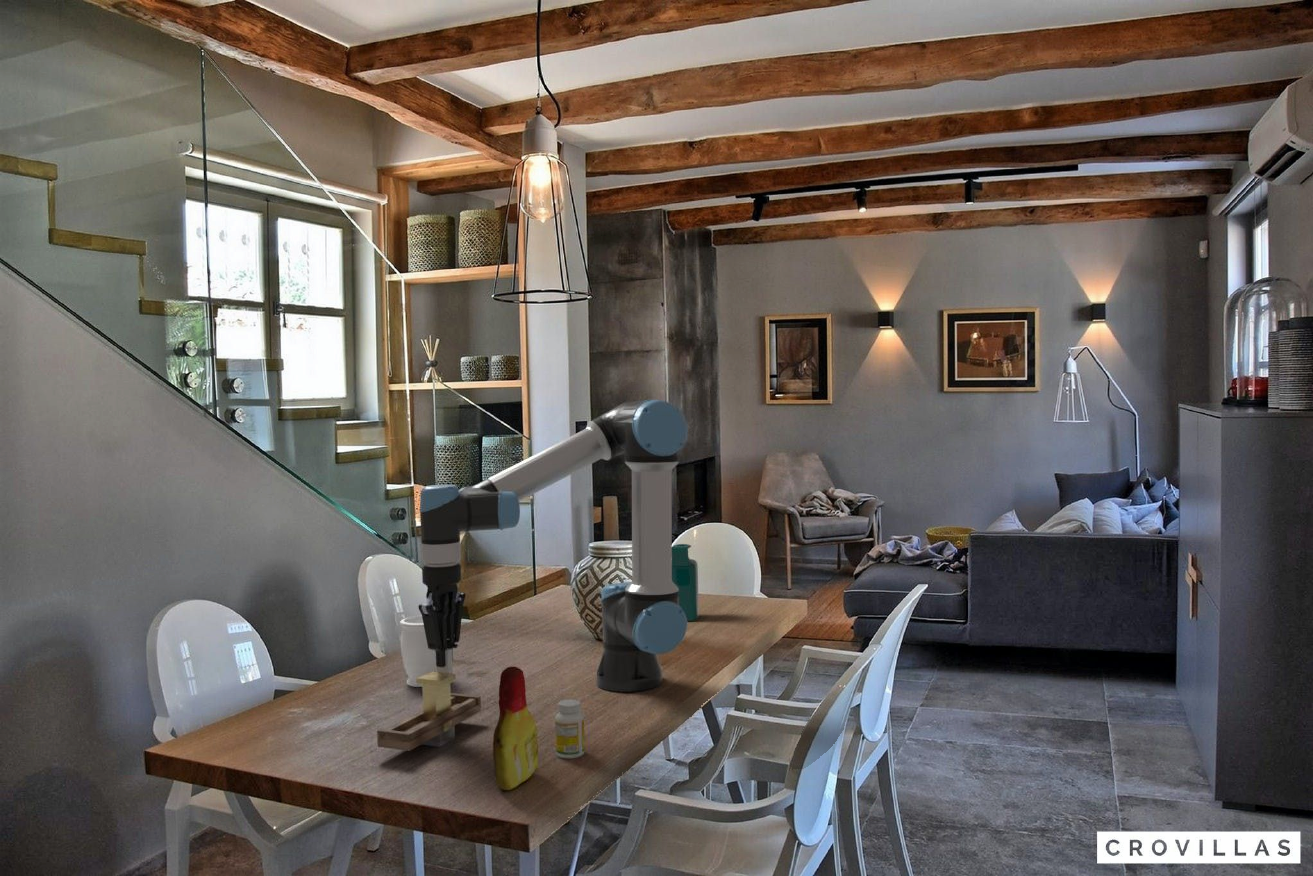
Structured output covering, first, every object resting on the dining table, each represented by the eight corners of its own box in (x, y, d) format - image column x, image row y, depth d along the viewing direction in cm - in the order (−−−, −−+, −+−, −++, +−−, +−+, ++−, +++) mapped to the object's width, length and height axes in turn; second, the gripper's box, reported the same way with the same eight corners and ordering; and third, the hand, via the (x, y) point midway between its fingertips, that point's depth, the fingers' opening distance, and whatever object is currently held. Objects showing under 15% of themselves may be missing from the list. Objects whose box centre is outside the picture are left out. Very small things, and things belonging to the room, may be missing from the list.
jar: (456, 678, 237) (454, 615, 236) (433, 690, 227) (430, 625, 226) (418, 675, 240) (415, 613, 239) (393, 687, 230) (390, 623, 230)
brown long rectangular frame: (451, 719, 206) (450, 693, 206) (482, 723, 203) (481, 696, 203) (377, 759, 184) (376, 730, 184) (410, 764, 181) (409, 734, 181)
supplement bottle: (570, 761, 180) (568, 709, 180) (549, 755, 184) (548, 703, 183) (591, 752, 185) (589, 701, 184) (570, 746, 188) (569, 696, 188)
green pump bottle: (671, 615, 298) (669, 541, 297) (699, 615, 296) (697, 541, 295) (667, 622, 288) (664, 547, 287) (696, 622, 287) (694, 546, 286)
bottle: (516, 797, 165) (512, 677, 164) (482, 793, 167) (477, 675, 166) (546, 770, 176) (542, 658, 175) (513, 767, 178) (509, 656, 177)
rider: (433, 711, 198) (431, 671, 198) (457, 714, 196) (455, 673, 196) (418, 719, 194) (416, 678, 193) (442, 722, 192) (440, 680, 191)
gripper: (444, 557, 204) (448, 671, 205) (405, 568, 192) (409, 689, 193) (475, 559, 201) (479, 674, 202) (438, 570, 189) (441, 692, 190)
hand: (445, 681), depth 198 cm, fingers closed
